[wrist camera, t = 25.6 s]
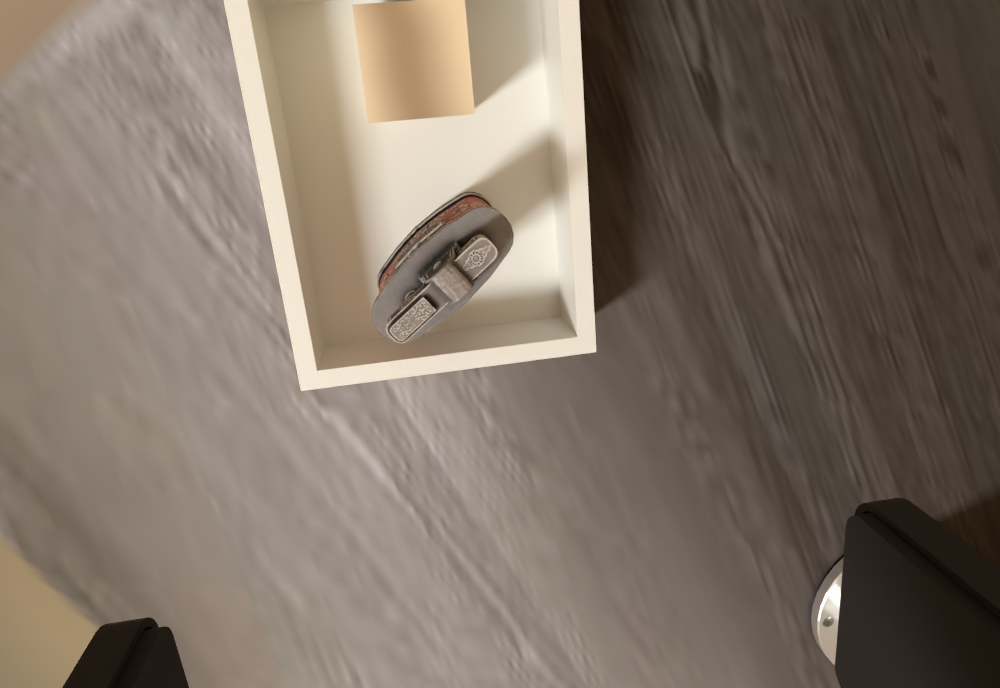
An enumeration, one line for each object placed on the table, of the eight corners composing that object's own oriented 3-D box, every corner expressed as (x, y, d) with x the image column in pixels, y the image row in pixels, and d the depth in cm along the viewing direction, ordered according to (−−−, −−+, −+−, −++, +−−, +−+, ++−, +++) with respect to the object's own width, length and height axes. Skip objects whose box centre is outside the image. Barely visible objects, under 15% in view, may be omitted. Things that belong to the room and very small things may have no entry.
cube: (456, 13, 36) (464, -3, 31) (465, 114, 37) (474, 113, 32) (359, 20, 35) (352, 4, 30) (372, 122, 37) (368, 123, 32)
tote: (553, -36, 36) (576, -59, 32) (575, 326, 43) (596, 351, 38) (242, -12, 35) (217, -33, 30) (313, 359, 41) (301, 390, 36)
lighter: (467, 177, 38) (487, 195, 29) (507, 221, 39) (539, 253, 30) (363, 275, 39) (350, 324, 30) (405, 317, 40) (406, 377, 31)
